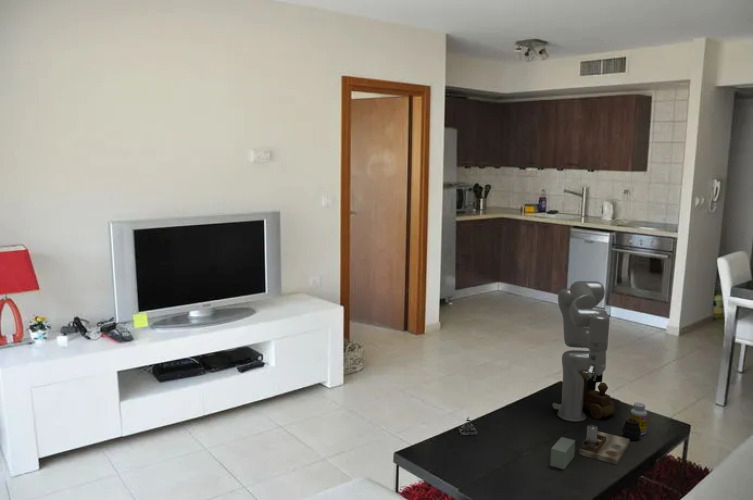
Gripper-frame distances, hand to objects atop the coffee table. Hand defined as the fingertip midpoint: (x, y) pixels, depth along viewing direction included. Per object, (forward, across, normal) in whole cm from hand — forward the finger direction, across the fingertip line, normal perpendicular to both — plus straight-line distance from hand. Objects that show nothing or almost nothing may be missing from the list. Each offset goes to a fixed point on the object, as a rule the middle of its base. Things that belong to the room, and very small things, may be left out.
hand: (594, 385), depth 247 cm
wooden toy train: (+30, +40, +11) cm, 51 cm away
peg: (+26, -1, -1) cm, 26 cm away
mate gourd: (+29, +23, -11) cm, 39 cm away
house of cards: (+29, -12, +49) cm, 58 cm away
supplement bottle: (+29, +30, -12) cm, 43 cm away
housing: (+28, -15, +7) cm, 33 cm away
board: (+28, +5, -5) cm, 29 cm away
